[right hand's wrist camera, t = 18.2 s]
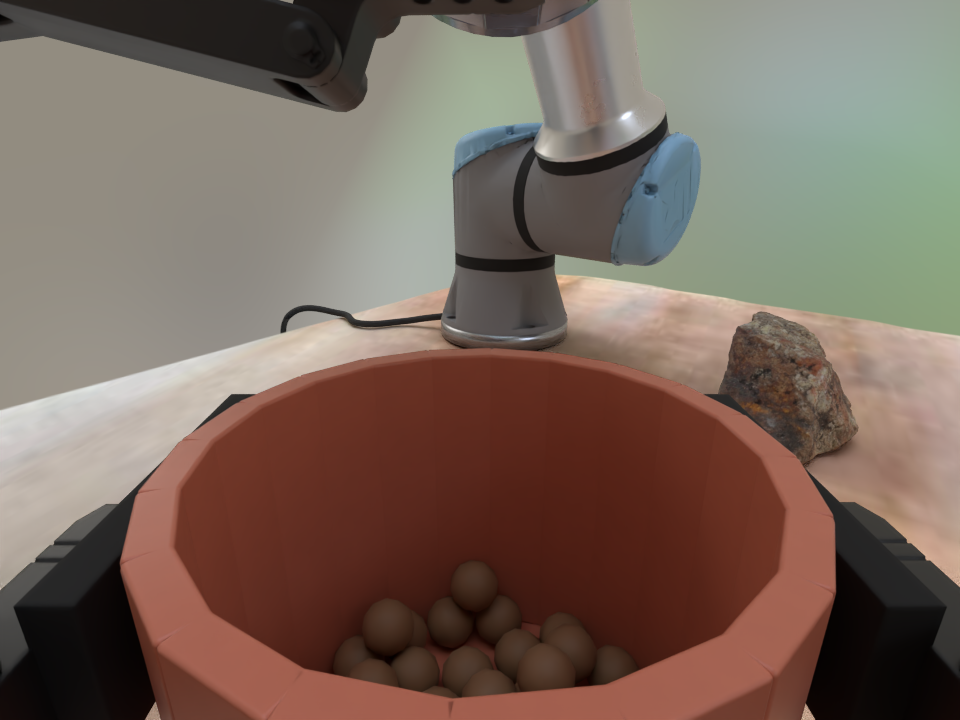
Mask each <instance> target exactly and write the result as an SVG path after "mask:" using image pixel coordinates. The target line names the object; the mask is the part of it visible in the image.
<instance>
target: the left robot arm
mask: <svg viewBox="0 0 960 720" xmlns="http://www.w3.org/2000/svg"><path fill="white" fill-rule="evenodd" d="M544 3H545V0H294V1H293V4H292V3H288V2H284V1H280V0H0V42H1V41H8V40H16V39H24V38H31V37H38V36H45V37H49V38H53V39H57V40H60V41H64V42H68V43H72V44H76V45H80V46H84V47H88V48H91V49H95V50H99V51H103V52H107V53H111V54H115V55H119V56H122V57H126V58H130V59H134V60H138V61H142V62H146V63H150V64H153V65H157V66H161V67H165V68H169V69H173V70H177V71H181V72H184V73H188V74H193V75H196V76H200V77H204V78H208V79H212V80H216V81H219V82H223V83H227V84H231V85H235V86H239V87H243V88H247V89H250V90H254V91H258V92H262V93H266V94H270V95H274V96H277V97H281V98H285V99H289V100H293V101H297V102H301V103H305V104H308V105H312V106H316V107H320V108H324V109H328V110H332V111H336V112H347V111H350V110H352V109H355V108H356V107H357V106H358V105H359V104H360V103H361V102H362V101H363V100H364V97H365V95H366V92H367V77H366V74H365V71H366V68H367V65H368V61H369V58H370V55H371V52H372V48H373V45H374V42H375V40H376V39H377V38H384V37H386V36H388V35H389V34H391V33H393V32H394V30H395V29H396V27H397V26H398V25H399V23H400V19H401V16H407V15H470V14H475V15H477V14H491V13H493V14H521V13H524V12H526V11H528V10H530V9H533V8H535V7H537V6H539V5H542V4H544ZM521 38H522V42H523V45H524V49H525V52H526V56H527V60H528V64H529V67H530V71H531V75H532V78H533V82H534V86H535V89H536V93H537V96H538V100H539V104H540V108H541V111H542V115H543V119H544V122H543V123H524V124H515V125H509V126H498V127H492V128H486V129H482V130H477V131H474V132H471V133H468V134H466V135H464V136H463V137H462V138H460V140H459V141H458V142H457V144H456V147H455V159H454V170H453V173H452V175H453V193H454V226H455V255H456V256H455V257H456V267H455V274H454V277H453V281H452V284H451V287H450V291H449V294H448V297H447V300H446V304H445V307H444V310H443V313H440V314H431V315H423V316H416V317H410V318H401V319H392V320H382V321H361V320H356V319H354V318H353V317H352V315H351V314H349V313H347V312H345V311H340V310H335V309H330V308H326V307H321V306H314V305H305V306H299V307H296V308H294V309H292V310H290V311H289V312H288V313H287V314H286V315H285V317H284V318H283V321H282V323H281V330H280V334H281V333H285V332H286V328H287V323H288V321H289V320H290V318H291V317H292V316H294V315H295V314H297V313H299V312H303V311H317V312H323V313H327V314H331V315H336V316H341V317H345V318H346V319H347V320H348V321H349V322H350V323H351V324H353V325H356V326H361V327H383V326H392V325H401V324H410V323H417V322H424V321H432V320H441V332H442V335H443V337H444V338H445V339H446V340H448V341H449V342H451V343H453V344H456V345H459V346H462V347H466V348H470V349H477V348H491V349H493V348H497V349H511V350H525V351H531V350H537V349H542V348H546V347H550V346H553V345H555V344H557V343H559V342H561V341H562V340H564V339H565V337H566V335H567V317H566V316H567V314H566V312H565V309H564V305H563V302H562V298H561V294H560V291H559V287H558V283H557V280H556V276H555V270H554V267H555V254H556V255H563V256H569V257H576V258H582V259H589V260H595V261H601V262H607V263H612V264H614V265H617V266H620V265H623V264H629V265H639V266H649V265H653V264H656V263H658V262H660V261H661V260H663V259H664V258H666V257H667V256H668V255H669V254H670V253H671V251H672V250H673V249H674V248H675V247H676V245H677V244H678V242H679V240H680V239H681V237H682V235H683V233H684V231H685V229H686V227H687V225H688V223H689V220H690V217H691V214H692V212H693V209H694V206H695V202H696V198H697V194H698V188H699V182H700V169H701V160H700V153H699V149H698V146H697V144H696V143H695V142H694V140H693V139H692V138H691V137H689V136H687V135H683V134H679V132H676V133H675V134H670V133H669V130H668V123H667V116H666V109H665V105H664V102H663V101H662V100H661V99H660V98H659V97H657V96H656V95H654V94H652V93H650V92H648V91H646V90H645V89H644V88H643V83H642V76H641V70H640V63H639V57H638V50H637V44H636V37H635V30H634V24H633V17H632V11H631V4H630V0H598V1H597V2H596V3H594V4H593V5H592V6H591V7H589V8H588V9H587V10H585V11H584V12H583V13H581V14H579V15H578V16H576V17H574V18H572V19H571V20H569V21H567V22H565V23H563V24H561V25H558V26H556V27H554V28H551V29H549V30H545V31H542V32H538V33H534V34H531V35H523V36H521Z"/></svg>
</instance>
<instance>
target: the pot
mask: <svg viewBox="0 0 960 720" xmlns="http://www.w3.org/2000/svg"><path fill="white" fill-rule="evenodd" d="M833 518H834V517H833V514H832V512H831V511H830V509H829V507H828V506H827V504H826V503H825V501H824V499H823V498H822V496H821V494H820V493H819V491H818V490H817V488H816V486H815V485H814V483H813V481H812V480H811V478H810V477H809V475H808V473H807V472H806V470H805V468H804V467H803V465H802V464H801V462H800V460H799V459H797V457H796V456H795V455H794V454H793V453H792V452H790V451H789V450H788V449H787V448H785V447H784V446H783V445H782V444H780V443H779V442H778V441H777V440H775V439H774V438H773V437H772V436H771V435H769V434H768V433H767V432H766V431H764V430H763V429H762V428H761V427H759V426H758V425H757V424H756V423H754V422H753V421H752V420H751V419H749V418H748V417H747V416H746V415H742V414H741V413H740V412H738V411H736V410H734V409H732V408H730V407H728V406H726V405H724V404H722V403H720V402H718V401H716V400H714V399H712V398H710V397H708V396H706V395H704V394H702V393H700V392H698V391H696V390H693V389H691V388H689V387H687V386H685V385H682V384H680V383H677V382H674V381H671V380H668V379H665V378H661V377H658V376H655V375H652V374H649V373H645V372H642V371H639V370H636V369H633V368H630V367H626V366H623V365H618V364H616V363H610V362H605V361H599V360H594V359H588V358H583V357H577V356H572V355H566V354H561V353H553V352H540V351H525V350H511V349H497V348H493V349H491V348H477V349H446V350H429V351H426V350H425V351H418V352H411V353H404V354H397V355H390V356H382V357H375V358H368V359H365V360H363V359H362V360H358V361H354V362H350V363H346V364H343V365H339V366H335V367H331V368H327V369H324V370H320V371H316V372H312V373H308V374H304V375H302V376H301V377H296V378H294V379H292V380H289V381H287V382H284V383H282V384H280V385H277V386H275V387H273V388H270V389H268V390H265V391H263V392H261V393H258V394H256V395H254V396H251V397H249V398H246V399H244V400H242V401H240V402H239V403H236V404H234V405H233V406H231V407H230V408H228V409H227V410H225V411H224V412H222V413H221V414H219V415H218V416H216V417H215V418H213V419H212V420H210V421H209V422H207V423H206V424H204V425H203V426H201V427H200V428H198V429H197V430H195V431H194V432H192V433H191V434H189V435H188V436H186V437H185V438H184V439H183V440H182V441H181V442H179V443H178V444H177V445H176V446H175V448H174V449H173V450H172V451H171V452H170V454H169V455H168V456H167V457H166V458H165V460H164V461H163V462H162V463H161V464H160V466H159V467H158V468H157V469H156V470H155V472H154V473H153V474H152V475H151V476H150V478H149V479H148V480H147V481H146V483H145V484H144V485H143V486H142V487H141V489H140V490H139V491H138V495H136V497H135V501H134V505H133V509H132V513H131V518H130V522H129V526H128V530H127V535H126V539H125V543H124V547H123V551H122V556H121V560H120V567H121V570H120V572H121V576H122V579H123V583H124V587H125V590H126V594H127V598H128V601H129V605H130V609H131V612H132V616H133V619H134V623H135V627H136V630H137V634H138V638H139V641H140V645H141V649H142V652H143V656H144V660H145V663H146V667H147V671H148V674H149V678H150V681H151V685H152V689H153V692H154V696H155V700H156V703H157V707H158V711H159V714H160V718H161V720H801V718H802V714H803V711H804V707H805V704H806V700H807V696H808V693H809V689H810V685H811V682H812V678H813V675H814V671H815V667H816V664H817V660H818V657H819V653H820V649H821V646H822V642H823V638H824V635H825V631H826V628H827V624H828V620H829V617H830V613H831V610H832V606H833V602H834V599H835V595H836V554H835V522H834V519H833ZM470 560H474V561H481V562H484V563H486V564H487V565H488V566H489V567H490V568H492V569H493V570H494V573H495V575H496V577H497V579H498V591H497V594H499V595H505V596H508V597H509V598H511V599H512V600H513V601H514V602H516V603H517V605H518V607H519V609H520V612H521V614H522V624H521V630H526V631H530V632H531V633H532V634H533V635H535V636H536V637H537V638H538V639H539V634H540V628H541V626H542V625H543V623H544V622H545V621H546V619H547V618H548V617H549V616H551V615H553V614H555V613H557V612H562V613H568V614H573V615H574V616H575V617H576V618H577V619H578V620H580V621H581V622H582V624H583V626H584V628H585V630H586V632H587V633H588V634H589V635H590V637H591V639H592V641H593V642H594V644H595V646H596V648H597V650H598V649H600V648H601V647H603V646H605V645H611V646H616V647H621V648H623V649H624V650H625V651H626V652H628V653H629V654H630V655H631V656H632V657H633V659H634V661H635V662H636V664H637V666H638V668H639V671H636V672H634V673H632V674H629V675H627V676H625V677H622V678H620V679H618V680H615V681H613V682H611V683H608V684H606V685H595V686H590V684H589V683H588V681H587V678H586V679H584V680H582V681H581V682H579V683H577V684H575V687H573V688H562V689H551V690H540V691H529V692H518V693H507V694H496V695H485V696H474V697H463V698H448V697H443V696H438V695H433V694H428V693H423V692H418V691H413V690H408V689H403V688H398V687H393V686H388V685H383V684H378V683H373V682H368V681H363V680H358V679H353V678H348V677H343V676H338V675H334V671H333V663H334V658H335V652H336V651H337V650H338V649H339V647H340V646H341V645H342V643H343V642H344V641H345V640H347V639H349V638H351V637H354V636H356V635H363V633H362V625H363V619H364V615H365V614H366V612H367V611H368V610H369V608H370V607H371V606H372V605H373V603H376V602H378V601H381V600H383V599H385V598H388V599H393V600H399V601H400V602H402V603H403V604H404V605H406V606H407V607H408V608H410V610H414V611H415V612H416V613H418V614H419V615H420V616H422V617H423V618H424V621H425V624H426V628H427V619H428V612H429V610H430V609H431V608H432V606H433V605H434V604H435V602H436V601H438V600H440V599H442V598H444V597H447V596H450V597H453V596H452V593H451V591H450V586H451V577H452V575H453V573H454V572H455V571H456V569H457V568H458V567H459V565H460V564H463V563H465V562H468V561H470ZM472 614H473V616H474V624H473V632H472V633H471V635H470V636H469V637H468V639H467V640H466V642H465V643H463V644H461V645H459V646H457V647H455V648H448V647H443V646H440V645H439V644H438V643H436V642H435V641H434V640H432V639H431V637H430V634H429V631H428V628H427V638H426V645H425V647H424V648H425V649H426V650H428V651H429V652H430V653H432V654H433V655H434V656H435V657H436V660H437V663H438V666H439V669H440V674H439V683H438V687H444V686H443V683H442V671H443V664H444V662H445V661H446V660H447V658H448V657H449V656H450V654H451V653H452V652H453V651H455V650H457V649H459V648H461V647H462V646H470V647H475V648H478V649H479V650H481V651H482V652H483V653H485V654H486V655H487V656H489V658H490V661H491V663H492V666H493V669H494V670H497V667H496V665H495V662H494V656H495V646H496V645H495V644H491V643H489V642H488V641H486V640H485V639H484V638H482V637H481V636H480V635H479V632H478V630H477V627H476V625H475V619H476V612H475V611H472ZM384 658H385V662H386V663H387V664H388V665H389V663H390V662H391V661H392V659H390V658H389V657H388V656H385V655H384ZM514 685H515V684H514Z"/></svg>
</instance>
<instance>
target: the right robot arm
mask: <svg viewBox="0 0 960 720" xmlns="http://www.w3.org/2000/svg"><path fill="white" fill-rule="evenodd" d="M254 395H256V394H231V395H230V396H229V397H228V398H227V399H226V400H225V401H224V402H223V403H222V404H221V405H220V406H219V407H218V408H217V409H216V410H215V411H214V412H213V413H212V414H211V415H210V416H209V417H208V418H207V419H206V420H204V421H203V422H202V423H201V424H200V425H199V426H198V427H197V428H196V429H195V430H197V429H198V428H200V427H201V426H203V425H204V424H206V423H207V422H209V421H210V420H212V419H213V418H215V417H216V416H218V415H219V414H221V413H222V412H224V411H225V410H227V409H228V408H230V407H231V406H233V405H234V404H236V403H239V402H240V401H242V400H244V399H246V398H249V397H251V396H254ZM704 395H706V396H708V397H710V398H712V399H714V400H716V401H718V402H720V403H722V404H724V405H726V406H728V407H730V408H732V409H734V410H736V411H738V412H740V413H741V414H742V415H746V416H747V417H748V418H749V419H751V420H752V421H753V422H754V423H756V424H757V425H758V426H759V427H761V428H762V429H763V430H764V431H766V430H765V429H764V428H763V427H762V426H761V425H760V424H759V423H758V422H757V421H756V420H755V419H754V418H753V417H752V416H751V415H749V414H748V413H747V412H746V411H745V410H744V409H743V408H742V407H741V406H740V405H739V404H738V403H737V402H736V401H735V400H734V399H733V398H732V397H731V396H730V395H729V394H704ZM195 430H194V431H195ZM194 431H193V432H194ZM766 432H767V431H766ZM767 433H768V432H767ZM768 434H769V433H768ZM769 435H770V434H769ZM164 460H165V459H164ZM164 460H163V461H164ZM163 461H162V462H163ZM162 462H161V463H162ZM161 463H160V464H161ZM160 464H159V465H158V466H157V467H156V468H155V469H154V470H153V471H152V472H151V473H150V474H149V475H148V476H147V477H146V478H145V479H144V480H143V481H142V482H141V483H140V484H139V485H138V486H137V487H136V488H135V489H134V490H132V491H131V492H130V493H129V494H128V495H127V496H126V497H125V498H124V499H123V500H122V501H121V502H120V503H119V504H105V505H104V506H102V507H100V508H98V509H97V510H95V511H93V512H91V513H90V514H88V515H86V516H85V517H83V518H81V519H79V520H78V521H76V522H75V523H74V524H73V525H72V526H70V527H69V528H68V529H67V530H66V531H65V532H64V533H63V534H62V535H61V536H60V537H58V538H57V539H56V540H55V541H54V545H50V546H49V547H47V548H46V549H45V550H44V551H43V552H42V553H41V554H40V555H39V556H38V557H37V558H36V561H35V563H30V564H29V565H28V566H27V567H26V568H24V569H23V570H22V571H21V572H20V573H19V574H18V575H17V576H16V577H15V578H14V579H12V580H11V581H10V582H9V583H8V584H7V585H6V586H5V587H4V588H3V589H1V590H0V720H145V718H146V717H147V715H148V713H149V712H150V710H151V708H152V706H153V705H154V703H155V701H156V700H155V696H154V692H153V689H152V685H151V681H150V678H149V674H148V671H147V667H146V663H145V660H144V656H143V652H142V649H141V645H140V641H139V638H138V634H137V630H136V627H135V623H134V619H133V616H132V612H131V609H130V605H129V601H128V598H127V594H126V590H125V587H124V583H123V579H122V576H121V572H120V570H121V567H120V560H121V556H122V551H123V547H124V543H125V539H126V535H127V530H128V526H129V522H130V518H131V513H132V509H133V505H134V501H135V497H136V495H138V491H139V490H140V489H141V487H142V486H143V485H144V484H145V483H146V481H147V480H148V479H149V478H150V476H151V475H152V474H153V473H154V472H155V470H156V469H157V468H158V467H159V466H160ZM805 470H806V469H805ZM806 472H807V473H808V475H809V477H810V478H811V480H812V481H813V483H814V485H815V486H816V488H817V490H818V491H819V493H820V494H821V496H822V498H823V499H824V501H825V503H826V504H827V506H828V507H829V509H830V511H831V512H832V514H833V517H834V518H833V519H834V522H835V554H836V595H835V599H834V602H833V606H832V610H831V613H830V617H829V620H828V624H827V628H826V631H825V635H824V638H823V642H822V646H821V649H820V653H819V657H818V660H817V664H816V667H815V671H814V675H813V678H812V682H811V685H810V689H809V693H808V696H807V700H806V705H807V706H808V708H809V710H810V711H811V713H812V715H813V716H814V718H815V720H960V587H959V586H958V585H956V584H955V583H954V582H953V581H952V580H951V579H950V578H949V577H948V576H946V575H945V574H944V573H943V572H942V571H941V570H940V569H939V568H938V567H937V566H935V565H934V564H933V563H932V562H931V561H926V559H925V556H924V555H923V554H922V553H921V552H920V551H919V550H918V549H917V548H916V547H915V546H913V545H912V544H911V543H907V539H906V538H905V537H903V536H902V535H901V534H900V533H899V532H898V531H897V530H896V529H895V528H894V527H892V526H891V525H890V524H889V523H888V522H887V521H886V520H885V519H883V518H881V517H880V516H878V515H876V514H874V513H873V512H871V511H869V510H867V509H866V508H864V507H862V506H860V505H859V504H857V503H855V502H839V501H838V500H837V499H836V498H835V497H834V496H833V495H832V494H831V493H830V492H829V491H828V490H827V489H826V488H825V487H824V486H823V485H821V484H820V483H819V482H818V481H817V480H816V479H815V478H814V477H813V476H812V475H811V474H810V473H809V472H808V471H807V470H806Z"/></svg>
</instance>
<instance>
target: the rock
mask: <svg viewBox="0 0 960 720" xmlns="http://www.w3.org/2000/svg"><path fill="white" fill-rule="evenodd" d="M825 357H826V355H825V352H824V350H823V348H822V347H821V345H820V342H819V341H818V339H817V338H816V337H815V335H814V334H813V333H811V332H809V330H808V329H807V328H805V327H804V326H802V325H800V324H798V323H796V322H791V321H788V320H785V319H783V318H781V317H778V316H774V315H772V314H770V313H767V312H758V313H756V314H754V315H753V318H752V322H750V323H748V324H744V325H741V326H738V327H737V329H736V333H735V334H734V336H733V340H732V344H731V348H730V352H729V362H728V366H727V371H726V372H725V375H724V379H723V381H722V383H721V385H720V389H719V393H718V394H729V395H730V396H731V397H732V398H733V399H734V400H735V401H736V402H737V403H738V404H739V405H740V406H741V407H742V408H743V409H744V410H745V411H746V412H747V413H748V414H749V415H751V416H752V417H753V418H754V419H755V420H756V421H757V422H758V423H759V424H760V425H761V426H762V427H763V428H764V429H765V430H766V431H767V432H768V433H769V434H770V435H771V436H772V437H773V438H774V439H775V440H777V441H778V442H779V443H780V444H782V445H783V446H784V447H785V448H787V449H788V450H789V451H790V452H792V453H793V454H794V455H795V456H796V457H797V459H799V460H800V462H801V464H802V465H803V464H804V463H806V462H808V461H809V460H811V459H813V458H814V456H816V455H818V454H821V453H825V452H828V451H831V450H836V449H837V448H839V447H840V445H842V444H843V443H845V442H847V441H849V440H850V439H851V438H852V437H853V436H854V435H855V434H856V432H857V431H858V425H857V423H856V420H855V418H854V417H853V415H852V412H851V409H850V407H851V403H850V402H849V400H848V398H847V397H846V396H845V394H844V393H843V390H842V388H841V385H840V380H839V378H838V376H837V374H836V372H834V370H833V369H832V364H831V363H830V362H828V361H827V360H826V358H825Z"/></svg>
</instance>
